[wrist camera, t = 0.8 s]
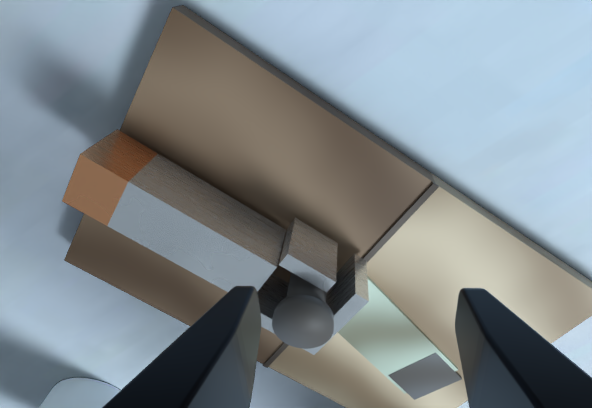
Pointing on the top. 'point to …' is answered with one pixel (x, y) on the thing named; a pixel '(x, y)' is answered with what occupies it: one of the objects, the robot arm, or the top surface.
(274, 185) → the door-edge board
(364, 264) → the swing bar
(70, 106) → the top surface
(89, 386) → the cylindrical container
